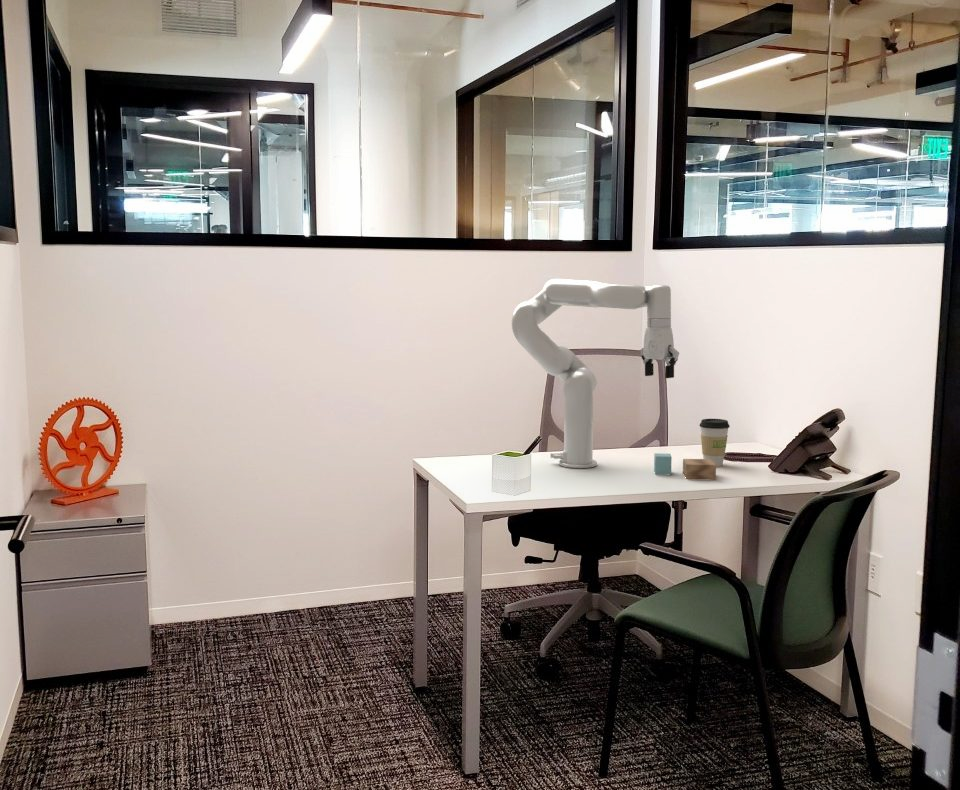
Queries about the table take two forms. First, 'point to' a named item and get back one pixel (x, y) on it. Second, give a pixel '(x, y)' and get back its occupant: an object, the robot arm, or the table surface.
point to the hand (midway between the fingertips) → (659, 376)
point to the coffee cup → (714, 439)
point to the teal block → (662, 463)
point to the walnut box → (699, 469)
